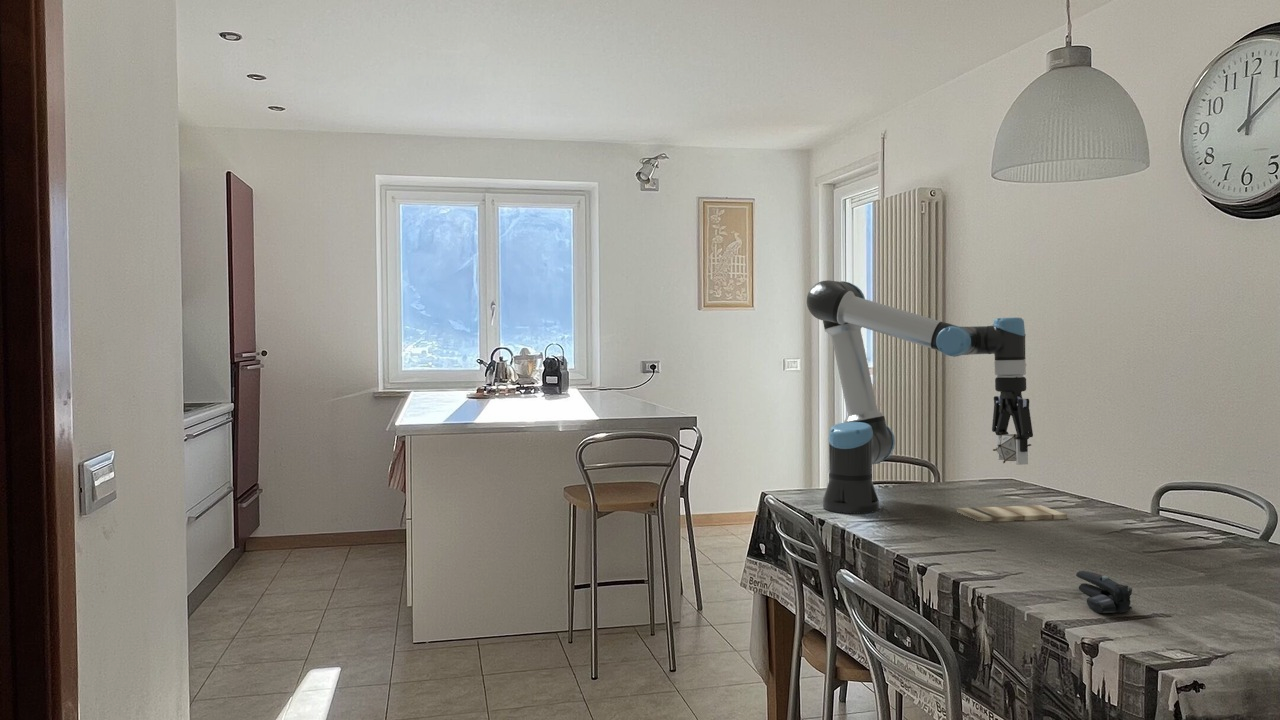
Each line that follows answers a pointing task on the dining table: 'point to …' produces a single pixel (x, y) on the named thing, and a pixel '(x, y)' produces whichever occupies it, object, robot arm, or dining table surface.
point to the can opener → (1105, 593)
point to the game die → (1007, 447)
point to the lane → (1011, 513)
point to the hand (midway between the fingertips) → (1012, 461)
